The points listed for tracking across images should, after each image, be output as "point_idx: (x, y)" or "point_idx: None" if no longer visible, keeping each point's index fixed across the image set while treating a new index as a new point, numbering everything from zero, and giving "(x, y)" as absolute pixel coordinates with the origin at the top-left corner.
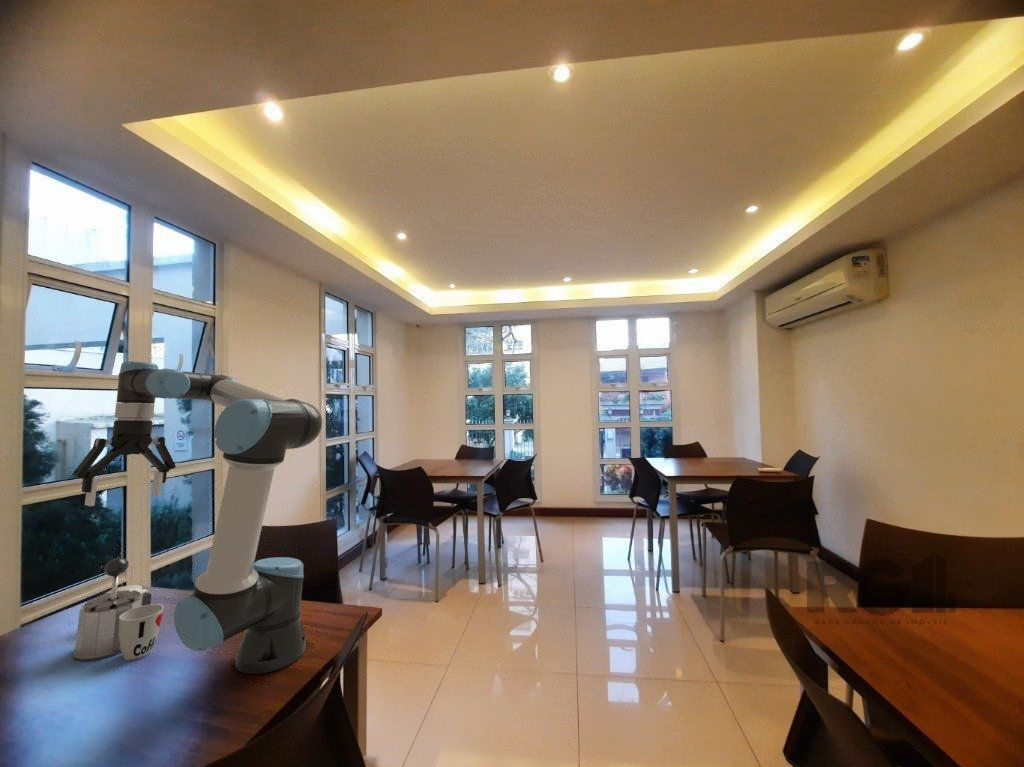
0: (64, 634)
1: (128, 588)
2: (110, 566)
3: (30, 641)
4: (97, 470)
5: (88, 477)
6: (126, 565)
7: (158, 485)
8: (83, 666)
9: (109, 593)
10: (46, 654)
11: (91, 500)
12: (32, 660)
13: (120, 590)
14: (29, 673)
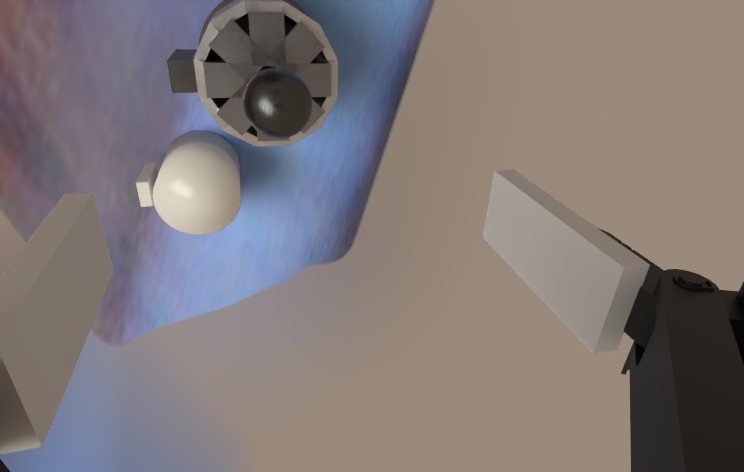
0: (288, 210)
1: (183, 206)
2: (306, 90)
3: (330, 230)
4: (704, 325)
5: (699, 276)
6: (258, 75)
7: (61, 248)
8: (324, 5)
9: (260, 136)
10: (337, 142)
11: (532, 183)
12: (358, 138)
13: (202, 208)
14: (380, 82)
